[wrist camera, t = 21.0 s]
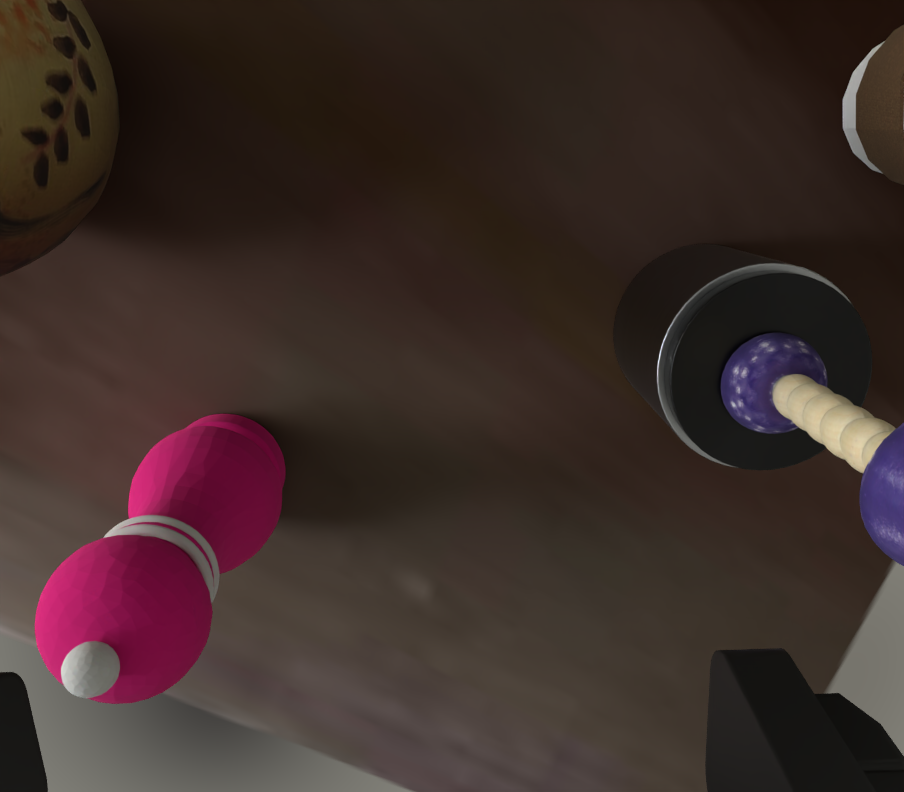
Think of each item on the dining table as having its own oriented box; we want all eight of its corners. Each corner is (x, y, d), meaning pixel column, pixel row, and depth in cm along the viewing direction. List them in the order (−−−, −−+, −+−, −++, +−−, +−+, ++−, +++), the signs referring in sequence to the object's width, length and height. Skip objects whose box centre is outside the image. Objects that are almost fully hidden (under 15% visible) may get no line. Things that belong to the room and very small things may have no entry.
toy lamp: (694, 417, 35) (914, 626, 19) (727, 309, 34) (991, 435, 18) (802, 440, 36) (1107, 664, 20) (839, 333, 34) (1195, 479, 18)
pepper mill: (186, 383, 45) (-3, 548, 25) (314, 433, 46) (226, 629, 26) (144, 501, 46) (-63, 739, 27) (268, 547, 47) (154, 809, 28)
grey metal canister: (661, 215, 43) (728, 229, 33) (814, 286, 44) (921, 319, 34) (584, 373, 45) (625, 429, 35) (731, 436, 46) (810, 508, 36)
